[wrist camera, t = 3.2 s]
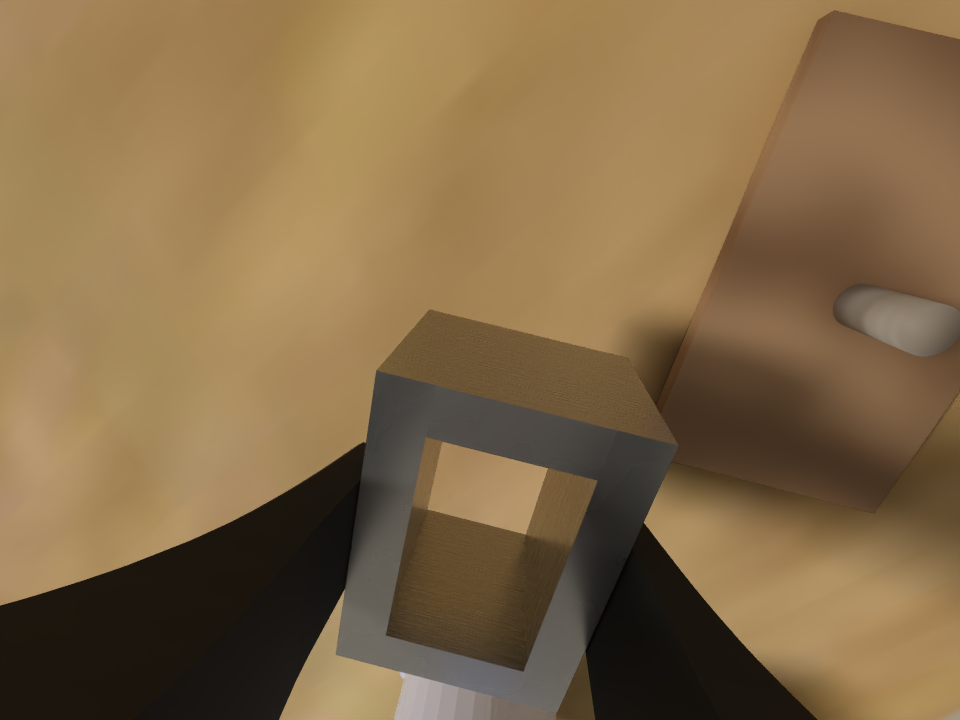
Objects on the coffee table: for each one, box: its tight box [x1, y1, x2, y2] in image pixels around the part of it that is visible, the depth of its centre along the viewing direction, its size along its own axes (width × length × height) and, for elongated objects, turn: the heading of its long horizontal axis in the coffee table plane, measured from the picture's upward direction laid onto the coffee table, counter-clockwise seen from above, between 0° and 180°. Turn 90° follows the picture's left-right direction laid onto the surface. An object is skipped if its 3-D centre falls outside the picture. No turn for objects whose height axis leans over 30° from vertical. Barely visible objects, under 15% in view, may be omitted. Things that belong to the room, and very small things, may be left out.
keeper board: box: [656, 10, 960, 513], centre depth 15 cm, size 16×10×4 cm, turn 167°
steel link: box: [336, 310, 678, 713], centre depth 10 cm, size 7×5×4 cm
